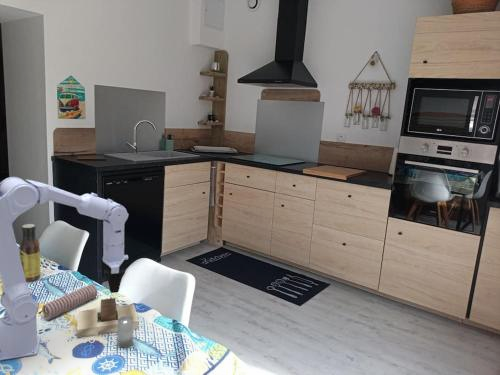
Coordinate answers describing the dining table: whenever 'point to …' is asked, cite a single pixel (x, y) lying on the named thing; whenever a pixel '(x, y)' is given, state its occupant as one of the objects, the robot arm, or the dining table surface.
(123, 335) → the clear glass
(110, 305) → the square peg
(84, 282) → the dining table surface
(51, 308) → the coil
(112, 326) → the socket board
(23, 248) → the sauce bottle
